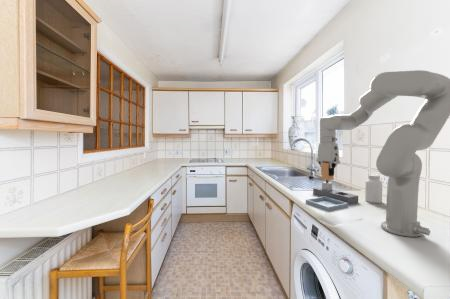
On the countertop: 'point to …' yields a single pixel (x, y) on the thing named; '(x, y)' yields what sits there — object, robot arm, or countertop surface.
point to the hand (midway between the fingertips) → (327, 174)
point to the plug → (326, 171)
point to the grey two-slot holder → (336, 195)
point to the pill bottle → (373, 189)
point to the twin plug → (327, 186)
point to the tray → (326, 203)
